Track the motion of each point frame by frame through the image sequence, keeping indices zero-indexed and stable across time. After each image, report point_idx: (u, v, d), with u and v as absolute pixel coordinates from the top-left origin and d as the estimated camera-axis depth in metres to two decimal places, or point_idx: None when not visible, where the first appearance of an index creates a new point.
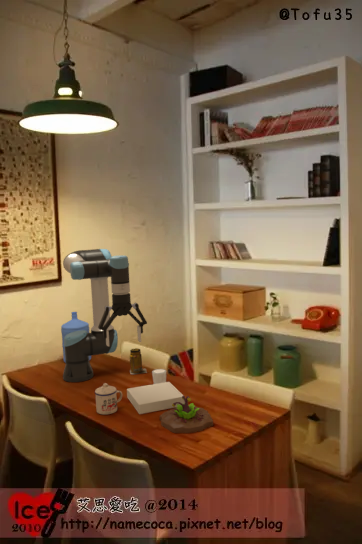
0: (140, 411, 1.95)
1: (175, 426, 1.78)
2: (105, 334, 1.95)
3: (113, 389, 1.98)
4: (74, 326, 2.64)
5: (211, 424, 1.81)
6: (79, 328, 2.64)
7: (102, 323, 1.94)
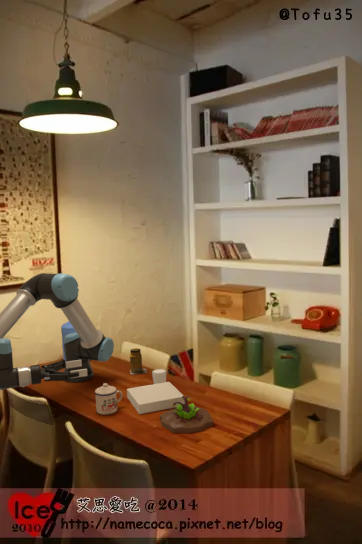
0: (140, 411, 1.95)
1: (175, 426, 1.78)
2: None
3: (113, 389, 1.98)
4: None
5: (211, 424, 1.81)
6: None
7: None
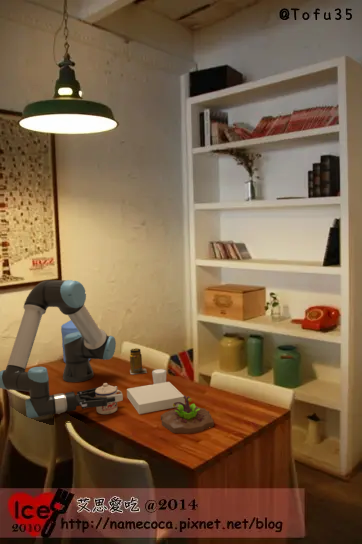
0: (140, 411, 1.95)
1: (175, 426, 1.78)
2: None
3: (113, 389, 1.99)
4: (74, 326, 2.64)
5: (211, 425, 1.81)
6: None
7: None
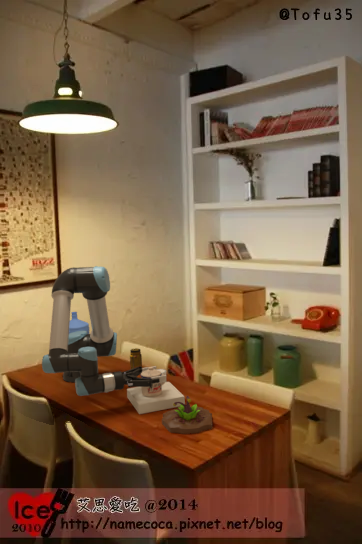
0: (140, 411, 1.95)
1: (172, 426, 1.78)
2: None
3: (158, 372, 2.05)
4: (74, 326, 2.64)
5: (209, 427, 1.79)
6: (79, 328, 2.64)
7: None
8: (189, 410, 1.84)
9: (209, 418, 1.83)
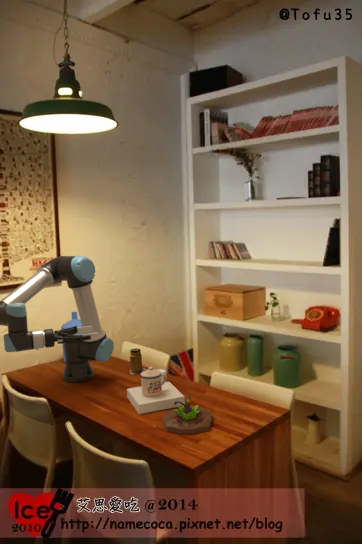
0: (140, 411, 1.95)
1: (168, 425, 1.79)
2: None
3: (158, 372, 2.05)
4: None
5: (206, 429, 1.77)
6: None
7: None
8: (189, 410, 1.84)
9: (208, 420, 1.81)
